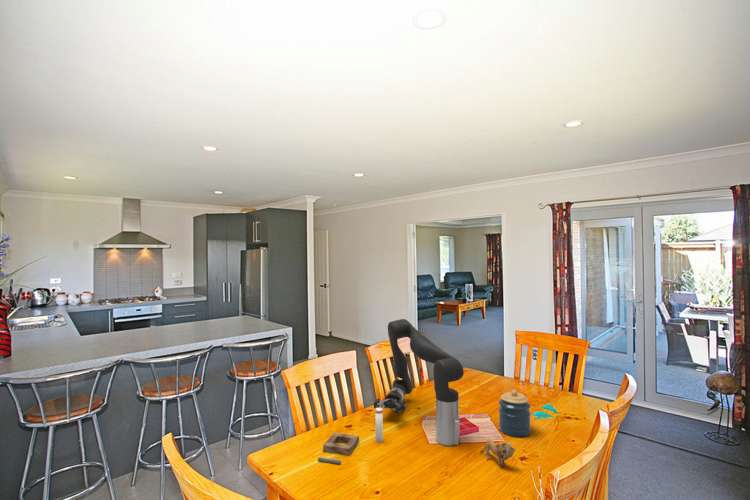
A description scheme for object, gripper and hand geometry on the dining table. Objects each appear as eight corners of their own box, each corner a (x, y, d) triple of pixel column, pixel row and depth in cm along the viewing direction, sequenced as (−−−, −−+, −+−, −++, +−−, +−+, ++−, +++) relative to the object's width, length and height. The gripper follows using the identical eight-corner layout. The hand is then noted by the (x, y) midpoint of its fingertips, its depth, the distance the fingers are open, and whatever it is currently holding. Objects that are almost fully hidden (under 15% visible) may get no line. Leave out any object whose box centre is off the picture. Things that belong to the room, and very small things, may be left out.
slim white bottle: (383, 439, 159) (383, 407, 159) (381, 443, 156) (381, 410, 156) (376, 438, 159) (376, 407, 160) (374, 441, 156) (374, 410, 157)
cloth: (544, 425, 172) (544, 420, 173) (518, 414, 184) (518, 410, 184) (576, 412, 187) (576, 407, 187) (550, 403, 198) (550, 398, 198)
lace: (341, 463, 140) (341, 460, 140) (340, 465, 139) (340, 461, 139) (318, 459, 143) (318, 456, 143) (317, 461, 142) (317, 458, 142)
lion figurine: (517, 468, 137) (517, 443, 137) (508, 473, 134) (507, 447, 134) (484, 451, 149) (484, 428, 149) (475, 455, 146) (475, 431, 146)
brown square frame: (359, 442, 156) (359, 436, 156) (349, 455, 146) (349, 449, 146) (334, 438, 160) (334, 432, 160) (323, 451, 149) (323, 445, 149)
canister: (531, 427, 169) (531, 387, 169) (530, 440, 157) (529, 397, 158) (500, 422, 174) (500, 383, 175) (497, 434, 163) (496, 392, 163)
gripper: (380, 388, 186) (370, 401, 170) (409, 391, 182) (401, 404, 166) (380, 404, 186) (370, 418, 170) (409, 407, 182) (401, 422, 166)
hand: (385, 411), depth 168 cm, fingers open, 8 cm apart
